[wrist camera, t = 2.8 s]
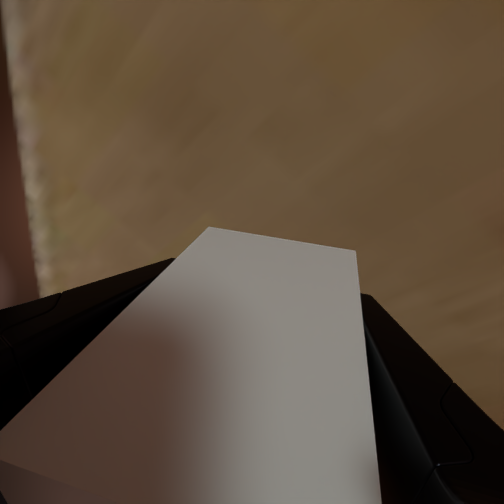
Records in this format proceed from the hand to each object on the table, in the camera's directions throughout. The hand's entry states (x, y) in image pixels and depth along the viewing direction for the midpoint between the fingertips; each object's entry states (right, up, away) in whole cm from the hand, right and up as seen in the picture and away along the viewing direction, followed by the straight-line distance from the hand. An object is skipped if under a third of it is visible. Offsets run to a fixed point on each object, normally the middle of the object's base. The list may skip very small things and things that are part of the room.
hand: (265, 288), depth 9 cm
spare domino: (+1, +1, +2) cm, 2 cm away
